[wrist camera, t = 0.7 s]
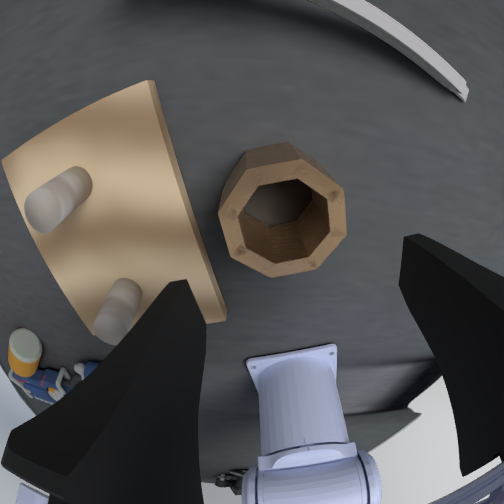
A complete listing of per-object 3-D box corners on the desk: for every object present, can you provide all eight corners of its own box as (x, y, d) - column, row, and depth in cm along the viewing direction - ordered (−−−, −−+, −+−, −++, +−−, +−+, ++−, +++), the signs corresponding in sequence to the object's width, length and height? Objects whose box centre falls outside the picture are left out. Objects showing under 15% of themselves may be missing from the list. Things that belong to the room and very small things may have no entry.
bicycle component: (296, 478, 48) (244, 471, 44) (289, 503, 44) (235, 500, 39) (265, 471, 57) (216, 461, 52) (258, 493, 52) (208, 486, 47)
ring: (328, 226, 17) (347, 262, 14) (239, 243, 18) (238, 283, 14) (317, 137, 14) (340, 153, 11) (216, 157, 15) (207, 178, 11)
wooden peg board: (226, 309, 21) (223, 366, 16) (97, 325, 22) (77, 371, 17) (154, 80, 12) (113, 78, 8) (11, 155, 13) (-38, 182, 9)
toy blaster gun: (-14, 309, 22) (30, 378, 30) (-29, 333, 18) (21, 399, 26) (128, 345, 24) (150, 409, 32) (118, 381, 21) (146, 436, 29)
